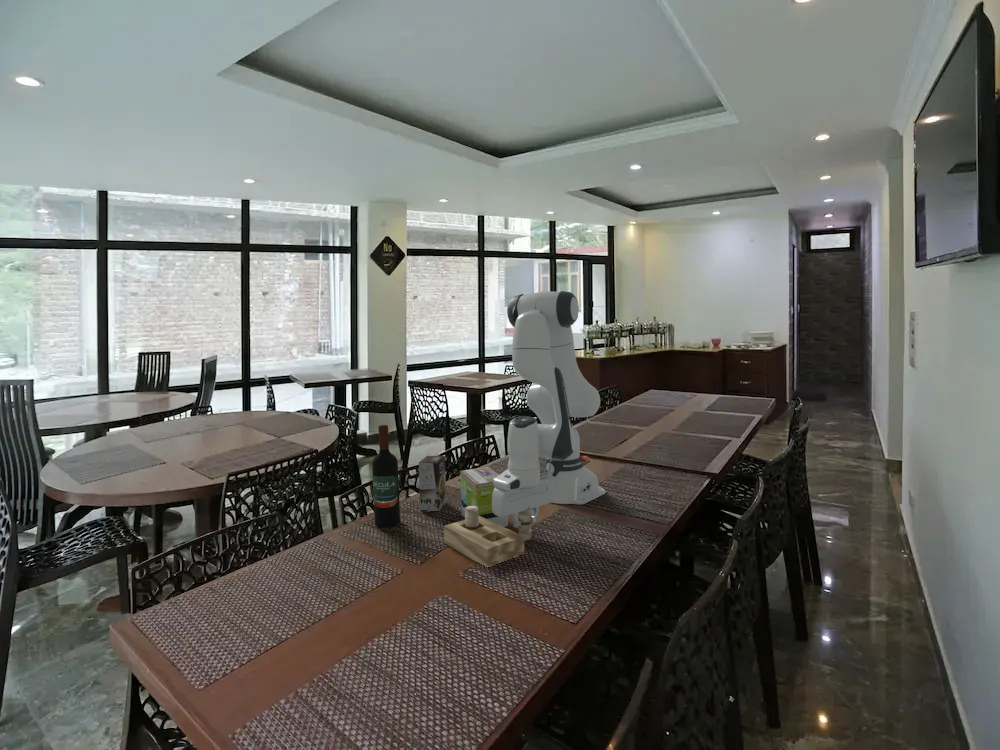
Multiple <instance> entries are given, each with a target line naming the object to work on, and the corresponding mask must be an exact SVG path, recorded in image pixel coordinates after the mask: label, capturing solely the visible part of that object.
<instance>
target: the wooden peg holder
mask: <svg viewBox="0 0 1000 750" xmlns="http://www.w3.org/2000/svg"><path fill="white" fill-rule="evenodd" d="M443 541H444V544H445V545H446V544H447V545H446V546H448V547H450V548H452V549H453V550H455V551H457V552H459V553H460V554H462V555H463V556H466V557H467V558H469V559H470V560H473V562H476V563H477V562H478V563H477V564H479V563H480V564H479V565H481V564H482V565H481V566H483V565H484V566H485V567H484V566H483V567H484V568H486V567H487V568H486V569H489V568H488V567H490V568H492V567H491V566H493V567H495V566H497V565H496V564H498V565H500V564H499V563H501V562H504V561H506V562H508V561H507V560H509V559H512V558H515V557H517V556H519V555H523V554H524V555H525V541H524V536H522V535H520V534H519V532H518V533H517V532H515V531H513V530H511V529H510V528H507V527H503V526H500V525H498V524H496V523H494V522H492V521H490V520H488V519H486V518H483V517H481V516H478V507H477V506H468V507H466V508H465V517H464V519H463V520H460V521H456V522H452V523H448V524H446V525H443ZM524 555H523V556H524ZM517 558H518V557H517ZM515 559H516V558H515ZM512 560H513V559H512ZM509 561H510V560H509ZM504 563H505V562H504ZM501 564H502V563H501ZM494 565H495V566H494Z"/></svg>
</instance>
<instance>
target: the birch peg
mask: <svg viewBox="0 0 1000 750" xmlns="http://www.w3.org/2000/svg"><path fill="white" fill-rule="evenodd" d="M531 512H532V509H530V507H528V509H527V510H525V511H522V512H519V513H518V516H517V519H518V520H520V521H521V527H518V534H520V535H522V536H524V540H530V539H531V540H532V537H533V536H532V532H533V531H532V523H531ZM531 540H530V541H531Z"/></svg>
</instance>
